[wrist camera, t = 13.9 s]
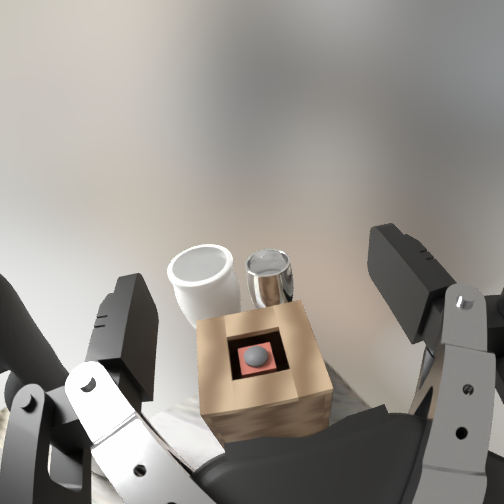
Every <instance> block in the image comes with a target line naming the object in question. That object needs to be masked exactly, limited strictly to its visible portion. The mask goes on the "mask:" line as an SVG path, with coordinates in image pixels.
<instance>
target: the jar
mask: <svg viewBox="0 0 504 504" xmlns="http://www.w3.org/2000/svg"><path fill="white" fill-rule="evenodd" d="M167 274H168V277H169V280H170V281H171V283H172V284H173V285H174V289H175V294H176V298H177V301H178V304H179V306H180V308H181V310H182V312H183V313H184V315H185V316H186V318H187V319H188V320H189V322H190V324H191V325H192V326H193V327H194V328H195V329H196V330H197V326H196V321H197V320H203V319H209V318H214V317H219V316H225V315H230V314H235V313H240V312H241V306H240V288H239V283H238V280H237V277H236V274H235V272H234V270H233V258H232V255H231V253H230V252H229V251H228V250H227V249H226V248H224V247H222V246H218V245H212V244H205V245H198V246H194V247H191V248H188V249H186V250H184V251H182V252H180V253H179V254H178V255H176V256H175V257H174V258H173V259H172V260H171V262H170V263H169V265H168V268H167Z"/></svg>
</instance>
